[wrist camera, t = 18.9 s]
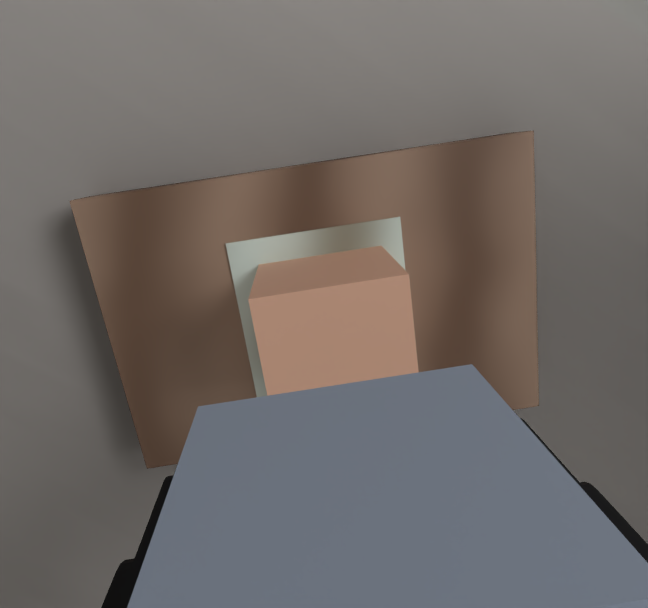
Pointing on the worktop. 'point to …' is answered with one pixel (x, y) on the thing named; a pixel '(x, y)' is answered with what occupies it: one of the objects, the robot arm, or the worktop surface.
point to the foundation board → (305, 241)
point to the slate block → (381, 507)
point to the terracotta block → (333, 320)
